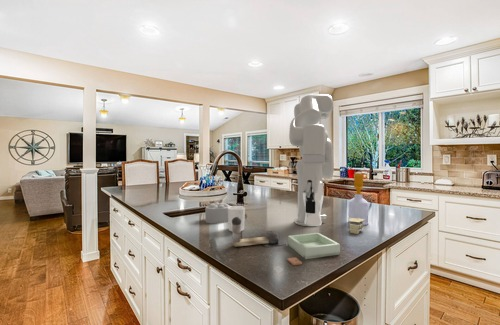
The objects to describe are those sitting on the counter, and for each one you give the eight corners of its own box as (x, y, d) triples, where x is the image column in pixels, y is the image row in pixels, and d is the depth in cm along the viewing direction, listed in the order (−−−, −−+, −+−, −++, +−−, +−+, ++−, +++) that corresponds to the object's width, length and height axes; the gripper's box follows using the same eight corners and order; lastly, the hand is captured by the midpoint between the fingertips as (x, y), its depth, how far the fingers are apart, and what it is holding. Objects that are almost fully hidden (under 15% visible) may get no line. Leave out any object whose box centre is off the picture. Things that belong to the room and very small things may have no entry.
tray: (318, 241, 98) (318, 232, 98) (339, 254, 85) (339, 244, 85) (287, 245, 94) (287, 235, 94) (305, 259, 81) (305, 248, 81)
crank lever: (275, 238, 100) (275, 212, 99) (280, 242, 95) (280, 215, 95) (230, 243, 94) (230, 215, 94) (233, 247, 90) (233, 219, 89)
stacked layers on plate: (365, 237, 104) (365, 224, 104) (342, 233, 109) (343, 220, 109) (368, 231, 113) (368, 218, 112) (347, 227, 117) (347, 216, 117)
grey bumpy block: (233, 221, 127) (233, 204, 127) (209, 224, 121) (209, 206, 121) (226, 216, 136) (226, 200, 136) (202, 219, 130) (202, 203, 130)
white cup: (242, 232, 108) (242, 209, 108) (225, 231, 110) (225, 208, 110) (246, 227, 116) (246, 206, 116) (230, 226, 118) (230, 205, 117)
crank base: (277, 238, 102) (277, 236, 102) (309, 263, 78) (309, 261, 78) (258, 240, 99) (258, 238, 99) (285, 266, 76) (285, 264, 76)
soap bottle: (348, 224, 122) (348, 173, 121) (348, 219, 130) (349, 172, 129) (368, 226, 118) (369, 174, 118) (367, 221, 127) (368, 172, 126)
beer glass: (312, 227, 84) (312, 182, 84) (298, 222, 90) (299, 180, 90) (327, 225, 87) (328, 181, 87) (313, 220, 94) (314, 180, 93)
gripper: (309, 159, 98) (308, 205, 98) (295, 160, 83) (295, 214, 83) (329, 159, 94) (328, 207, 95) (318, 160, 79) (318, 217, 80)
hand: (313, 210), depth 89 cm, fingers closed on beer glass, 6 cm apart
